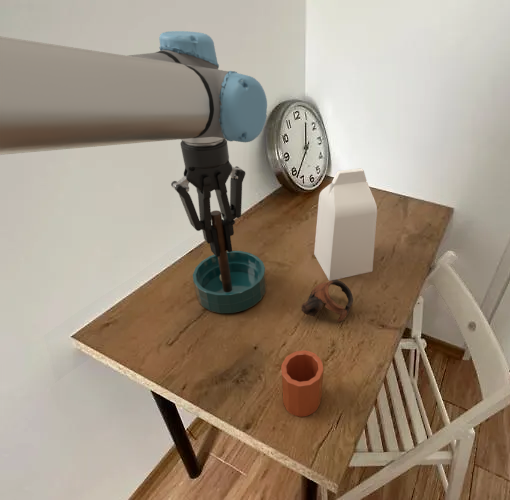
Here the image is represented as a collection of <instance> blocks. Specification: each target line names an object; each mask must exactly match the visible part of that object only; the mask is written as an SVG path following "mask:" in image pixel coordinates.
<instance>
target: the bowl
mask: <svg viewBox="0 0 510 500" xmlns="http://www.w3.org/2000/svg"><path fill="white" fill-rule="evenodd" d="M227 256H228V262H229V269H230V275H231V282H232V288H233V289H232V291H231V292H224V291H223V285H222V281H221V280H220V268H219V262H218V257H216V256H215V255H214V254H212V255H209V256H208V257H206V258H204V259H202V260H201V261H200V262H198V263H199V264H197V265H196V267H194V271H193V272H192V281H193V285H194V289H195V294H196V298H197V301H198V302H199V304H200V305H201V306H202V307H203V308H205V309H206V310H208V311H210V312H214V313H218V314H235V313H239V312H243V311H246V310H248V309H250V308H253V307H254V306H255V305H257V304H258V303H259V302H260V301H262V299H263V297H264V295H265V294H266V291H267V276H266V275H267V274H266V267H265V264H264V261H263V260H261V259H260V258H259V256H257V255H255V254H253V253H251V252H249V251H243V250H232V252H228V251H227Z"/></svg>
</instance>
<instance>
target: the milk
mask: <svg viewBox="0 0 510 500" xmlns="http://www.w3.org/2000/svg"><path fill="white" fill-rule="evenodd" d="M374 197H375V196H374V195H373V193H372V190H371V188H370V186H369V183H368V182H367V177H366V173H365V171H364V169H363V168H362V167H361V168H352V169H342V170H337V171H336V173H335V175H334V178H333V179H332V181H331V182H330V183H329V184H328V185H327V186H325V187H324V188H323V189H322V190H321V191H320V192H319V195H318V202H317V203H318V205H317V215H316V216H317V217H316V228H315V239H314V251H313V256H314V257H315V258H316V261H317V262H318V264H319V265H320V267H321V269H322V271H323V272H324V274H325V276H326V279H327V280H328V282H329V281H332V280H340V279H344V278H345V279H346V278H349V277H354V276H359V275H363V274H367V273H373V270H374V258H375V257H374V256H375V246H376V245H375V244H376V233H377V231H376V230H377V219H378V218H377V217H378V206H377V203H376V200H375V198H374Z"/></svg>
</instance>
